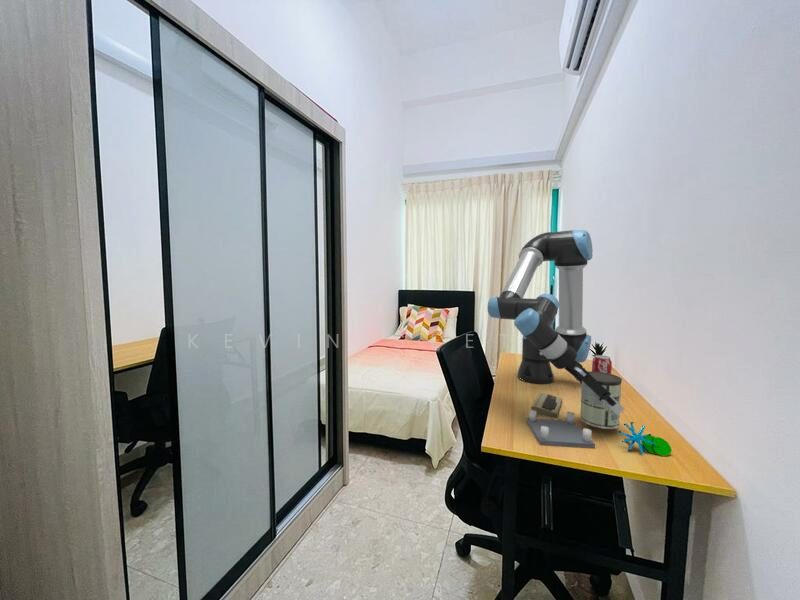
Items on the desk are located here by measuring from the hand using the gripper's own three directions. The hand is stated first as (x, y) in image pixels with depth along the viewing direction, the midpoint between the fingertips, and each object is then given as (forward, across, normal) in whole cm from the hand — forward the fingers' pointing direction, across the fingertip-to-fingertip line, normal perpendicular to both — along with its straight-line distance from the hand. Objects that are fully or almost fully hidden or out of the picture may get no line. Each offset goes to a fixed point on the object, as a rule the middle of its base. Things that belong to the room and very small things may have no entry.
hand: (610, 404), depth 97 cm
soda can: (+19, -43, +7) cm, 47 cm away
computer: (-4, -13, -16) cm, 21 cm away
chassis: (-7, +6, -17) cm, 20 cm away
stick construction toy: (+7, +12, -4) cm, 14 cm away
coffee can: (+2, 0, -6) cm, 6 cm away
